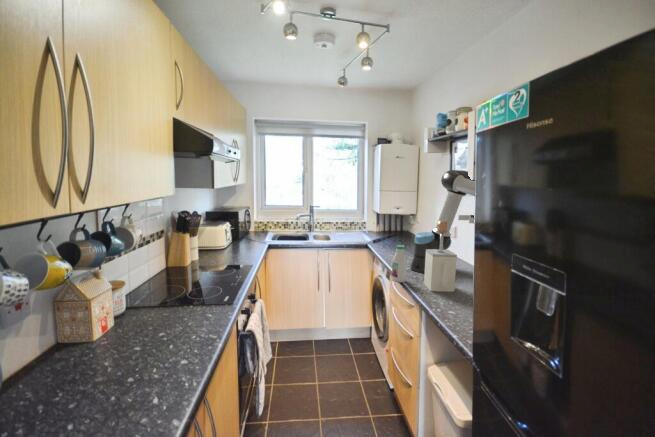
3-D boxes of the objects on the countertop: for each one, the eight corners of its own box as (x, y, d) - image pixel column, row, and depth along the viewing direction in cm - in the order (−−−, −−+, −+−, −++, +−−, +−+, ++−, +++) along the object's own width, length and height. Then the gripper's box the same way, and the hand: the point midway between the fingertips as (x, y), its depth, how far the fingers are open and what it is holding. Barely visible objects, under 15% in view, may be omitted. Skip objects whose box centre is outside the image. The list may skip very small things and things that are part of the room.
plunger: (431, 268, 172) (434, 220, 169) (443, 269, 172) (447, 221, 169) (435, 272, 165) (438, 222, 162) (448, 272, 165) (451, 222, 162)
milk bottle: (404, 279, 183) (406, 244, 181) (406, 283, 176) (408, 247, 173) (391, 278, 184) (392, 244, 182) (392, 282, 176) (394, 246, 174)
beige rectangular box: (423, 283, 176) (426, 249, 173) (445, 284, 175) (448, 249, 173) (432, 293, 160) (435, 255, 158) (456, 294, 160) (459, 256, 158)
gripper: (518, 230, 153) (473, 229, 153) (492, 223, 177) (454, 223, 178) (519, 215, 152) (474, 214, 152) (493, 210, 177) (454, 209, 177)
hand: (463, 219), depth 165 cm, fingers open, 13 cm apart
